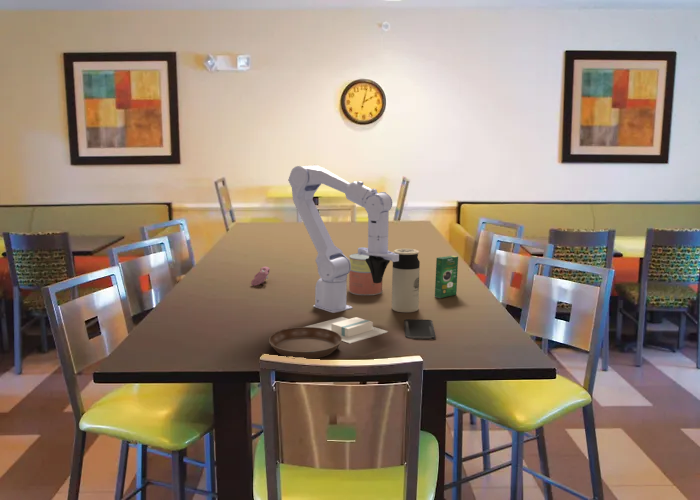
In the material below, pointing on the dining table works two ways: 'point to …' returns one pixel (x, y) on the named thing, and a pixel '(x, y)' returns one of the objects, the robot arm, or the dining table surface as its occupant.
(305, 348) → the plant saucer
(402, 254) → the travel mug
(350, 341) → the mat
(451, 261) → the coffee box
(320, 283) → the robot arm
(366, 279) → the canned food
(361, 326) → the card deck
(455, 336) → the dining table surface
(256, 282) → the pink bird figurine
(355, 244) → the dining table surface
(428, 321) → the phone
